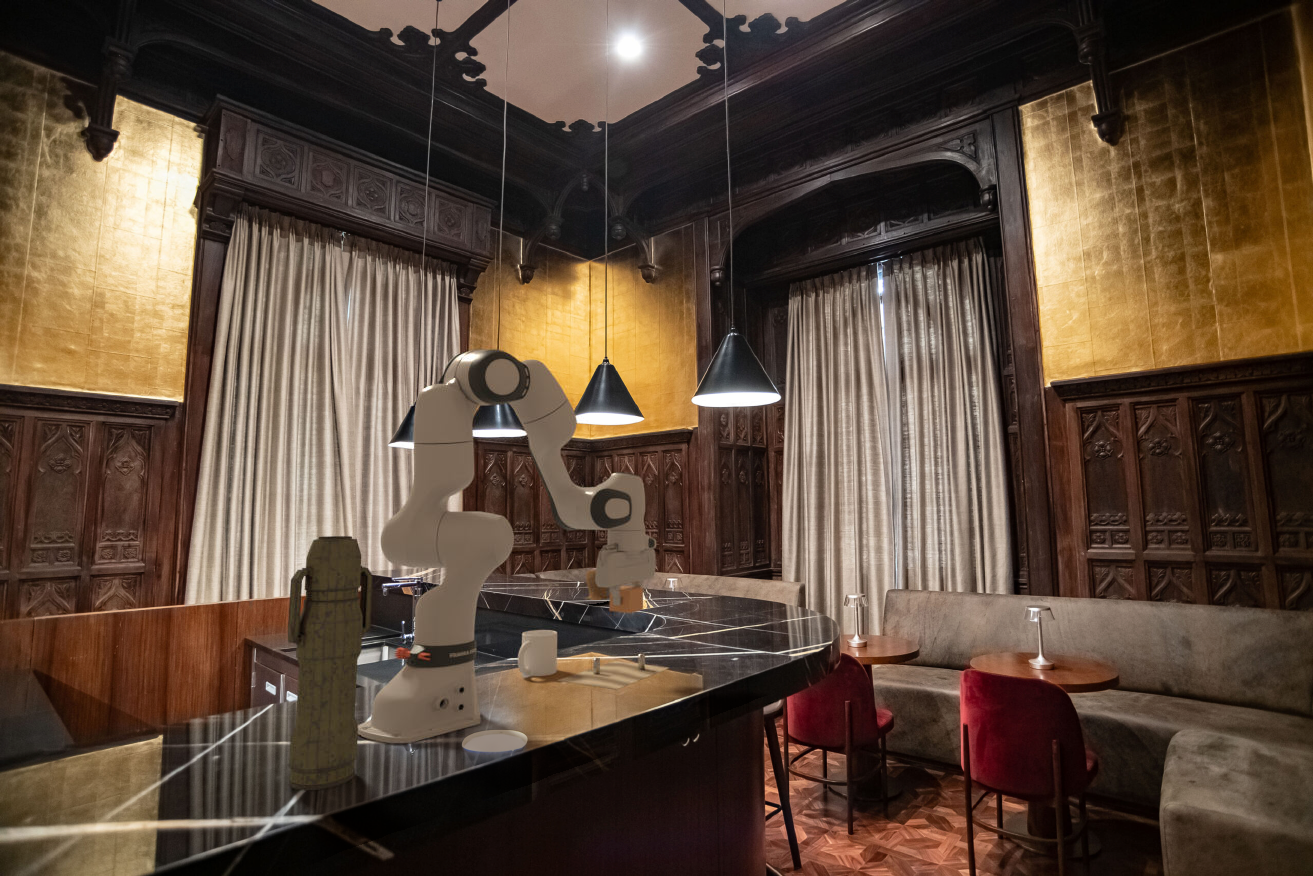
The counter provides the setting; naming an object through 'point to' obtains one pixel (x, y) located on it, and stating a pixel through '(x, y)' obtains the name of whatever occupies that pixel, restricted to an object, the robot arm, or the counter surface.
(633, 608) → the tan wooden cube
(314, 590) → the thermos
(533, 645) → the mug
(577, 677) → the board
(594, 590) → the stone cup
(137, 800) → the counter surface
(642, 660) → the pins
